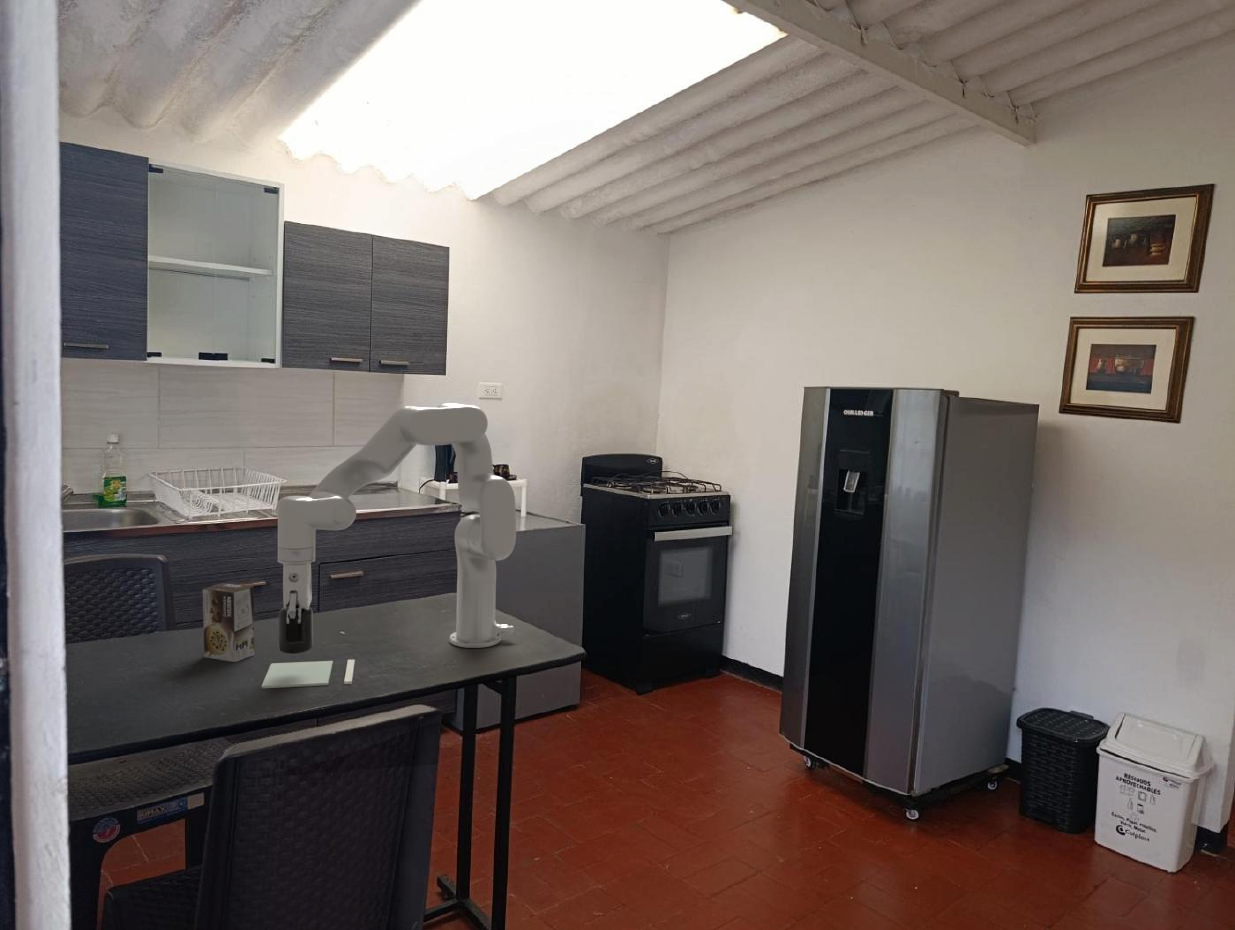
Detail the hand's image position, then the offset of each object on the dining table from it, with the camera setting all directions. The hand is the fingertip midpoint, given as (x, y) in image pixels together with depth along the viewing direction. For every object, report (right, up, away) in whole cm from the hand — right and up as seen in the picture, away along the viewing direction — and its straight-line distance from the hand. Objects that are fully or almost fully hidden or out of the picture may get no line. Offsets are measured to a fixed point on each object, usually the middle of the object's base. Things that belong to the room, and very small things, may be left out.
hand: (296, 635), depth 182 cm
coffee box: (-20, -7, +11) cm, 24 cm away
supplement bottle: (0, -3, 0) cm, 3 cm away
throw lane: (+3, -9, +2) cm, 9 cm away
